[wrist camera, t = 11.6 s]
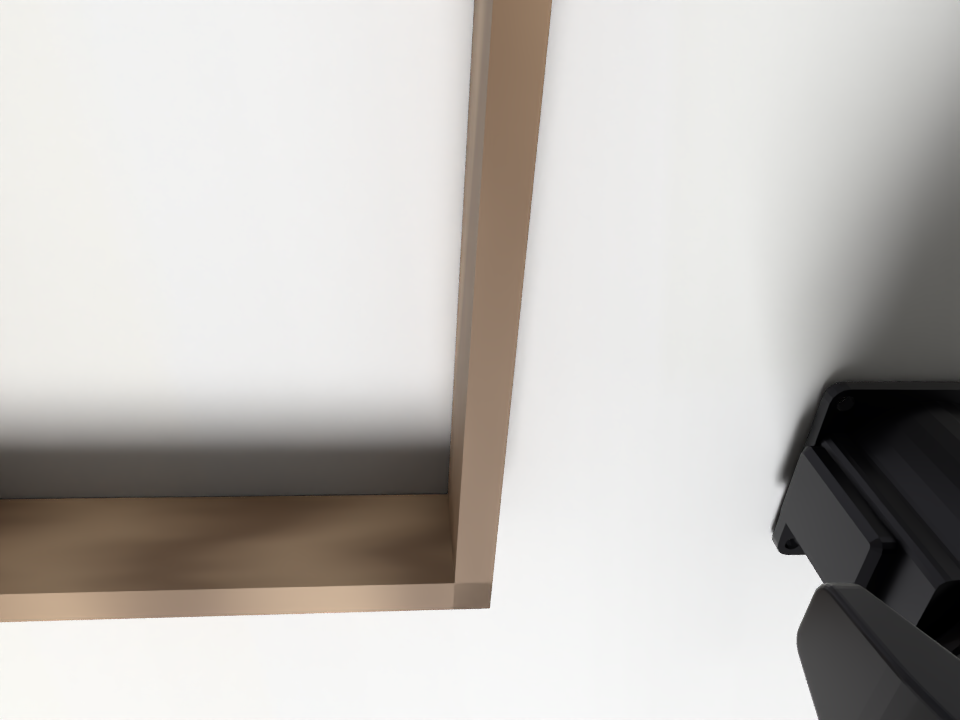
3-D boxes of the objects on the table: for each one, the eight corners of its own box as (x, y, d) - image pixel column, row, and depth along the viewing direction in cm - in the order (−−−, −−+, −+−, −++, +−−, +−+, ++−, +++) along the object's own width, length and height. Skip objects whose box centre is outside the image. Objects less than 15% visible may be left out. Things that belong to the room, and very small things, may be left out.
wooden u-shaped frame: (557, -422, 12) (605, -525, 9) (478, 518, 23) (489, 608, 20) (-538, -558, 11) (-900, -738, 8) (-75, 526, 21) (-151, 626, 19)
